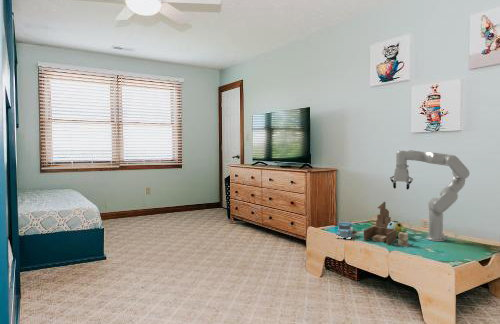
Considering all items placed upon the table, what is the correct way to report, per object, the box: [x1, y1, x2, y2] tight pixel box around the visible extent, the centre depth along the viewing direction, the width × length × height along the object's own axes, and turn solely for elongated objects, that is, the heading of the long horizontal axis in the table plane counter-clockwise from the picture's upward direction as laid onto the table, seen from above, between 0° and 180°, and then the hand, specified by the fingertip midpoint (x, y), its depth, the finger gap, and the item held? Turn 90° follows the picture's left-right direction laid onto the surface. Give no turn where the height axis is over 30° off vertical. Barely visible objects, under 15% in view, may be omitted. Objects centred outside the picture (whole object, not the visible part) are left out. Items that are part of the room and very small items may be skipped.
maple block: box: [397, 232, 409, 245], centre depth 261 cm, size 5×5×8 cm
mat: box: [392, 241, 413, 248], centre depth 261 cm, size 10×10×1 cm
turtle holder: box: [387, 220, 407, 237], centre depth 282 cm, size 12×18×12 cm
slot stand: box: [363, 225, 398, 246], centre depth 273 cm, size 18×17×8 cm
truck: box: [335, 217, 354, 239], centre depth 291 cm, size 12×29×15 cm, turn 162°
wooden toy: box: [375, 201, 393, 228], centre depth 300 cm, size 16×7×25 cm, turn 40°
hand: (401, 188), depth 278 cm, fingers open, 9 cm apart
